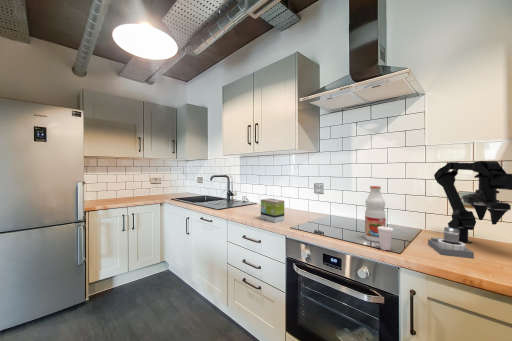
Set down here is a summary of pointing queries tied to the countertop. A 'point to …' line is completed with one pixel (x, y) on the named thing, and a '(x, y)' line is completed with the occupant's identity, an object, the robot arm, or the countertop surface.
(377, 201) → the fruit juice
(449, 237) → the lens
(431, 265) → the countertop surface
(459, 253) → the camera body
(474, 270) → the countertop surface
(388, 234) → the smoothie
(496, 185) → the robot arm
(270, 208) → the tea box
